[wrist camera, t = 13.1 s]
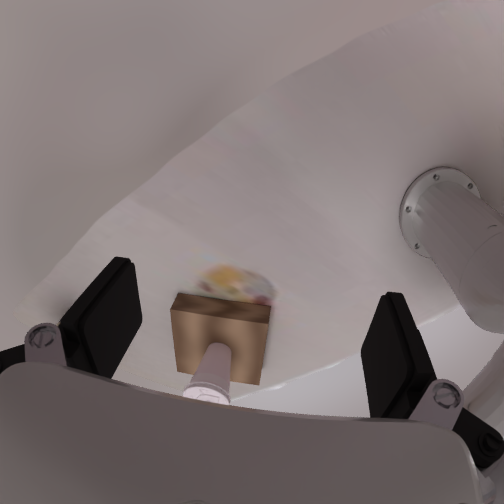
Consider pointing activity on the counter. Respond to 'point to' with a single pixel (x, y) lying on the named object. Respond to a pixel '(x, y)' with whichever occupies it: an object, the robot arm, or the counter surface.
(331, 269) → the counter surface
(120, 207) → the counter surface
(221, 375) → the smoothie
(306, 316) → the counter surface
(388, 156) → the counter surface
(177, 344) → the plinth
